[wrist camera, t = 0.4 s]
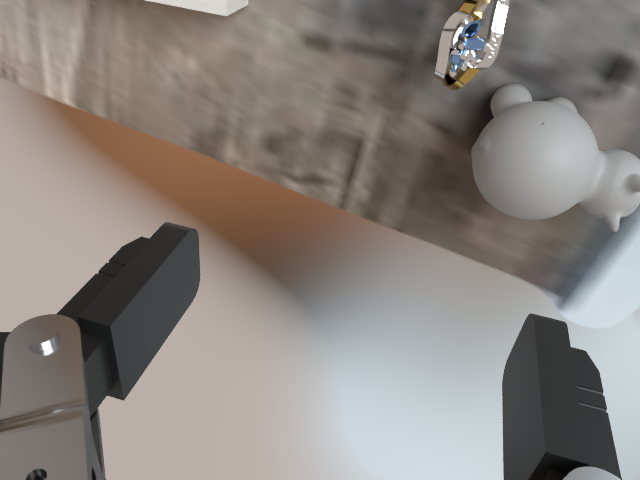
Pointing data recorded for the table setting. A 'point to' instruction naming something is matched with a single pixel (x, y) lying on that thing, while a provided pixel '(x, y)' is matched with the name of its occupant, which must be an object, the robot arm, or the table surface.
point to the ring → (469, 42)
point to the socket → (207, 5)
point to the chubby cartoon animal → (550, 162)
